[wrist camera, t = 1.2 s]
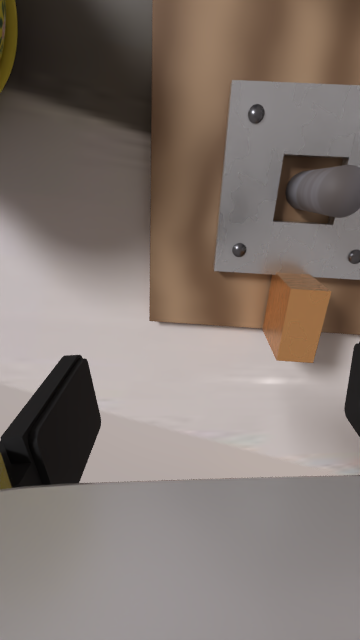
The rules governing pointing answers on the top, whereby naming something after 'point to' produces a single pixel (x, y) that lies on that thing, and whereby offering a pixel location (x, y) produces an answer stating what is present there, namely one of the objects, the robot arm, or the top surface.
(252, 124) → the flange plate
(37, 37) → the top surface
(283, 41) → the board
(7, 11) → the flowerpot
